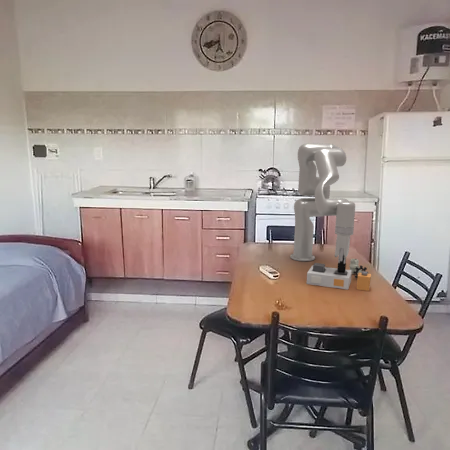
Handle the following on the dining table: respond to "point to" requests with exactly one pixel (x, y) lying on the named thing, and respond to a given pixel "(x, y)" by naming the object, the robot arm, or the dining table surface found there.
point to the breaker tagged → (341, 273)
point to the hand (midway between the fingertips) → (341, 271)
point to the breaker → (319, 267)
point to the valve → (356, 267)
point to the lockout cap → (363, 281)
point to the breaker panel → (329, 278)
